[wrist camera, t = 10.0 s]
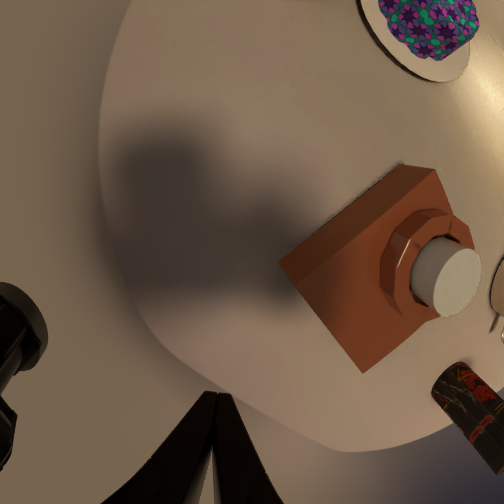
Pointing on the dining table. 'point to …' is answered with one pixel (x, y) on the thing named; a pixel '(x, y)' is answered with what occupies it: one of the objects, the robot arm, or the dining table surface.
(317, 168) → the dining table surface
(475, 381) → the deodorant
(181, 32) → the dining table surface
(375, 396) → the dining table surface
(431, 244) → the white cylinder
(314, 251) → the button housing
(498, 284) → the mug
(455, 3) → the pudding
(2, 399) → the robot arm
